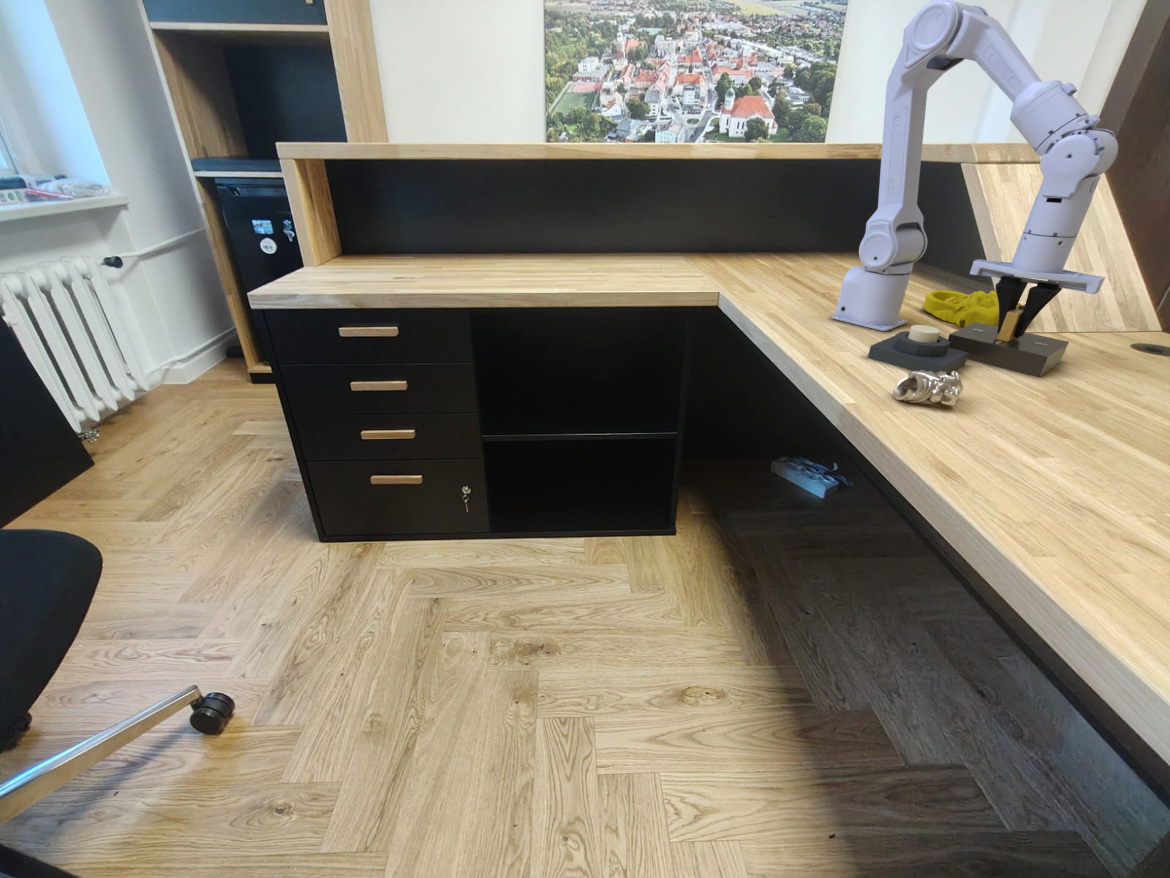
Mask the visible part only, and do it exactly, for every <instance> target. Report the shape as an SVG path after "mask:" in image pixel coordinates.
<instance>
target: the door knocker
mask: <svg viewBox="0 0 1170 878" xmlns="http://www.w3.org/2000/svg"><path fill="white" fill-rule="evenodd" d="M1019 305H1021V304H1020V303H1018V305H1017V307H1019ZM1017 307H1016V308H1017ZM922 308H923V309H924V310H925V311H926V312H928V313H930V314H931V315H933V316H934V317H936V318H938V319H939V320H942V321H945V322H949V323H952V324H956V325H957V326H959V328H964V327H966V326H968V325H970V324H972V323H974V322H978V323H983V324H988V325H993V326H997V327H998V324H999V303H998V297H997V293H996V290H990V292H989V293H987V292H985V291H983V290H978V291H974V292H973V291H972V293H969V294H967V293H963V292H959V291H954V290H947V289H934V290H931V291H929V292H927V294H926V296H925V297H924V301H923V304H922Z"/></svg>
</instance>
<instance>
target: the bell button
mask: <svg viewBox="0 0 1170 878" xmlns="http://www.w3.org/2000/svg"><path fill="white" fill-rule="evenodd" d="M909 331H910V332H909V335H908V338H909V339H911V340H914V341H918V342H923V343H937V340H938V337H939V336H940V334H941V329H939V328H937V327H934V326H931V325H925V324H913V325H911V326H910V329H909Z"/></svg>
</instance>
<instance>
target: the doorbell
mask: <svg viewBox="0 0 1170 878" xmlns="http://www.w3.org/2000/svg"><path fill="white" fill-rule="evenodd" d="M909 332H910V330H904V331H900V332H896V334H895V335H892V336H890V337H888V338H885V339H883V340H880V341H879V342H876V343H874V344H871V345H870V348H869V351H868V354H867V359H870V360H873V361H877V362H881V363H885V364H888V365H892V366H894V367H899V368H902V369H905V370H909V371H911V372H912V371H920V370H924V371H926V372H928V371H932V372H934V373H937V372H939V371H943V372H946V375H948V376H950V375H951V372H952V371H956V372H957V371H958V370H959V369H961V368H963V367H964V366H965V365H966V363H967V360H968V359H967V357H968V354H969V353H968V352H964V351H959V350H955V349H951V348H949V345H950V342H949V341H948V338H947V337H944V336H941V335H939V337H938V340H937V343H923V342H918V341H914V340H911V339H909V338H908V335H909Z"/></svg>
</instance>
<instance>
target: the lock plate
mask: <svg viewBox="0 0 1170 878" xmlns="http://www.w3.org/2000/svg"><path fill="white" fill-rule="evenodd" d="M997 331H998V327H997V326H993V325H988V324H983V323H978V322H974V323H972V324H970V325H968V326H966V327H964V326H963V327H960V328H959V329H958V330H955V331H953V332H951V333H949V335H948V337H947V339H948V341H949V342H950V345H949V348H951V349H955V350H959V351H964V352H968V353H969V354H968V357H967V360H968V361H973V362H977V363H980V364H985V365H988V366H992V367H995V368H1000V369H1003V370H1008V371H1011V372H1015V373H1020V374H1024V375H1028V376H1032V377H1035V378H1040V377H1042V376H1043V375H1044V374H1045V373H1047V372H1048V371H1050V370H1051V369H1052V368H1054V367H1055V366H1056V365H1057V364H1059V363H1061V361H1062V359H1063V357H1064V354H1065V352H1066V349H1067V348H1068V345H1069V344H1070V341H1067V340H1063V339H1059V338H1053V337H1050V336H1044V335H1039V334H1036V333H1035V334H1034V333H1030V332H1026V331H1025V333H1024V334H1023V336H1021V337H1019V338H1017V337H1016V338H1014V339H1012V340H1010V341H1009V342H1007V341H1002V340H998V339H997V338H998V335H999V334H998V333H997Z"/></svg>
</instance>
